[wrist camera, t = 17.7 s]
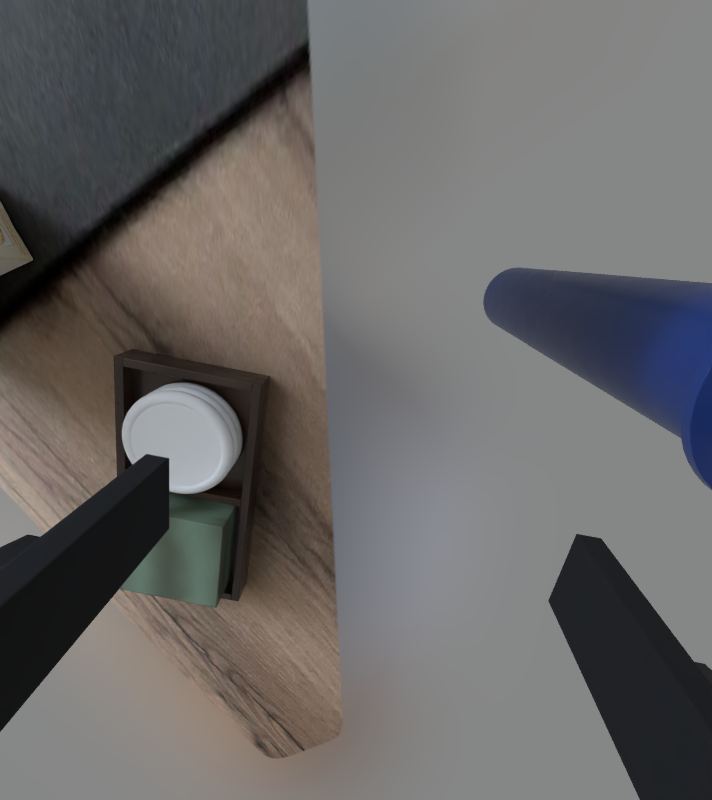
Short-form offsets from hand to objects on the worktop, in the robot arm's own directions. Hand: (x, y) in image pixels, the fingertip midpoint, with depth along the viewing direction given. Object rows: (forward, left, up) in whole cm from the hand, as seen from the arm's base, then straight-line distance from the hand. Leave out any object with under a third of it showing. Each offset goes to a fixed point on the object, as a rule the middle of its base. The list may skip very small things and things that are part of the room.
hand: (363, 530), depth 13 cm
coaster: (+16, +10, -23) cm, 30 cm away
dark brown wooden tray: (+16, +16, -24) cm, 33 cm away
